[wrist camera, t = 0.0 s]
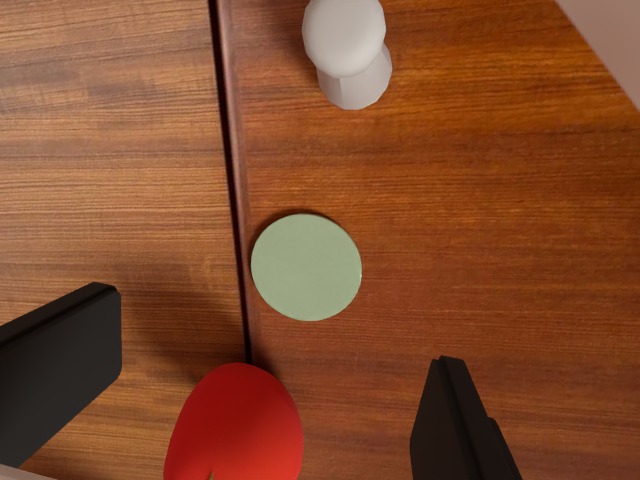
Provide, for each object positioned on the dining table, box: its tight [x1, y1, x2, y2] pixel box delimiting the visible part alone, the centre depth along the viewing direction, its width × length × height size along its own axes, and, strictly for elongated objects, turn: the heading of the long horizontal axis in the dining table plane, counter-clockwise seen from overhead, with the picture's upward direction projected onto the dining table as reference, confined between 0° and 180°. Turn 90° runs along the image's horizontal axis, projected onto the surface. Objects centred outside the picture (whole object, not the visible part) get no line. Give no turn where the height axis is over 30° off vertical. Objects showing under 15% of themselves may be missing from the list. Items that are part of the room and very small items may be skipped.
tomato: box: [163, 362, 304, 480], centre depth 32 cm, size 13×11×14 cm
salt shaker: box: [302, 0, 392, 110], centre depth 23 cm, size 6×6×13 cm
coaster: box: [251, 213, 362, 321], centre depth 34 cm, size 11×11×1 cm
